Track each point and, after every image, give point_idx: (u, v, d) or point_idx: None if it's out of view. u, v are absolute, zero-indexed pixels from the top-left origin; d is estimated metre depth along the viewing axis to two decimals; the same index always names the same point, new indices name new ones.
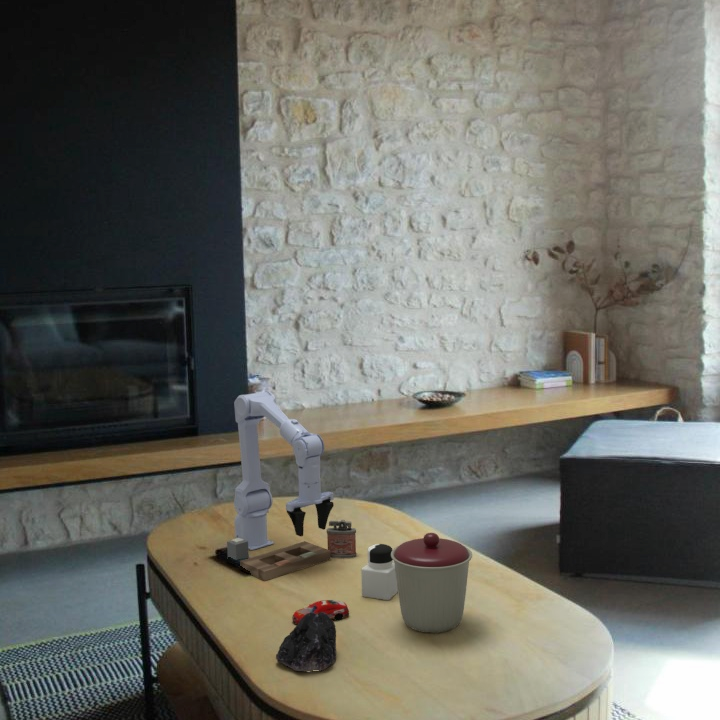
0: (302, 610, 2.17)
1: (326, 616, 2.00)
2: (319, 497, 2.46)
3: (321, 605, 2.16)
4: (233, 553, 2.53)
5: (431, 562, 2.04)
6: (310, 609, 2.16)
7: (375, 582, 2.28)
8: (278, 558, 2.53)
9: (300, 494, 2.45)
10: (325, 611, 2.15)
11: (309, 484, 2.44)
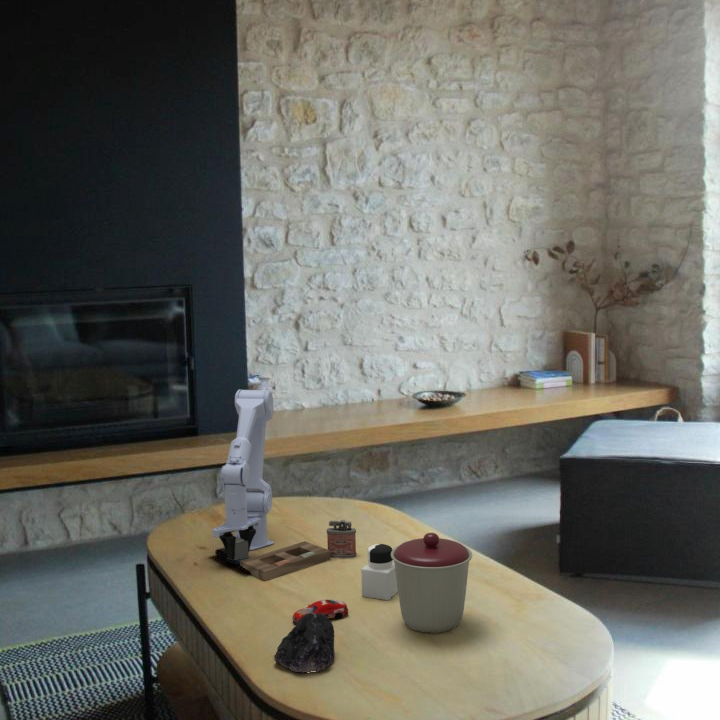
0: (302, 610, 2.16)
1: (324, 617, 1.99)
2: (245, 523, 2.53)
3: (321, 605, 2.16)
4: None
5: (431, 562, 2.04)
6: (310, 609, 2.16)
7: (375, 582, 2.28)
8: (278, 558, 2.53)
9: (227, 520, 2.52)
10: (325, 611, 2.16)
11: (235, 511, 2.50)
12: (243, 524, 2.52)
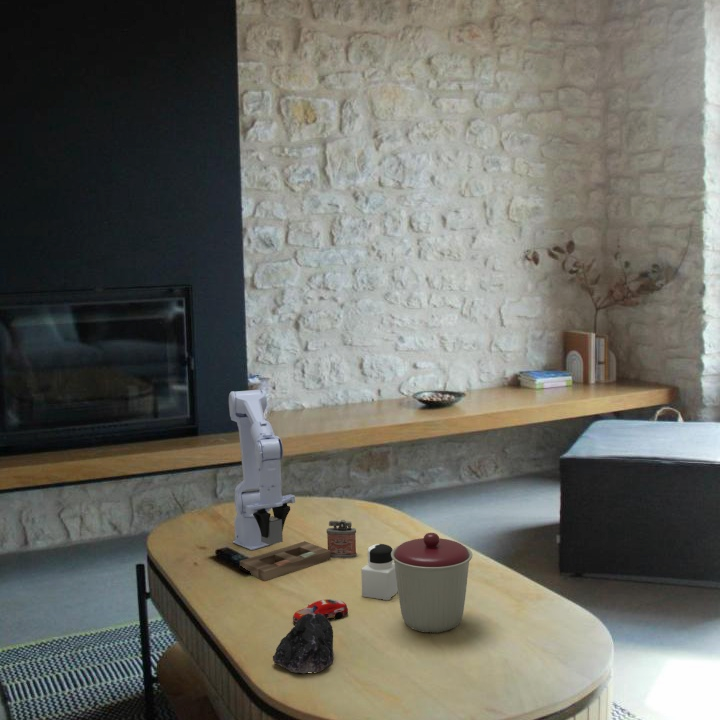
0: (302, 611, 2.16)
1: (323, 617, 1.99)
2: (280, 500, 2.46)
3: (321, 605, 2.16)
4: None
5: (431, 562, 2.04)
6: (310, 609, 2.16)
7: (375, 582, 2.28)
8: (278, 558, 2.53)
9: (261, 497, 2.46)
10: (326, 610, 2.16)
11: (269, 487, 2.44)
12: (277, 501, 2.45)
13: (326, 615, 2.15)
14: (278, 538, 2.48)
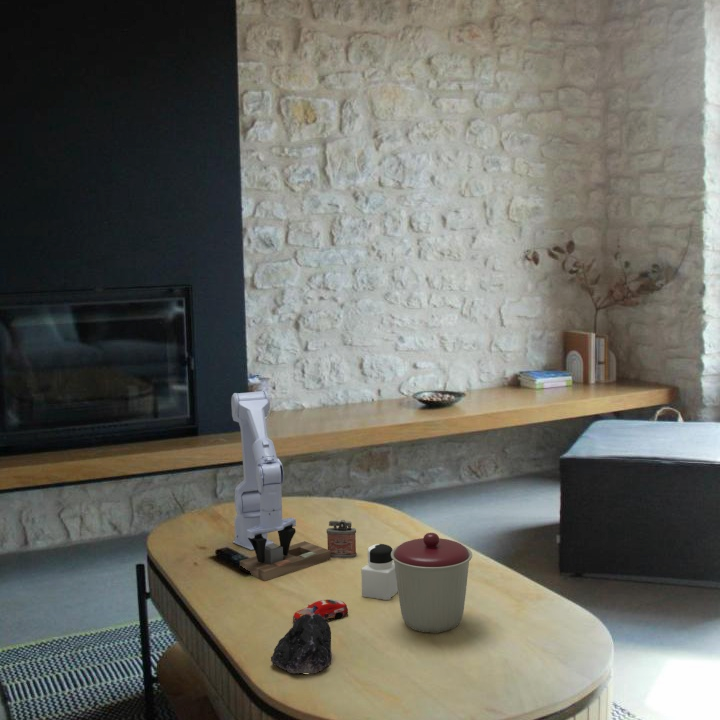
0: (302, 611, 2.16)
1: (321, 618, 1.99)
2: (280, 524, 2.47)
3: (321, 605, 2.16)
4: (268, 560, 2.48)
5: (431, 562, 2.04)
6: (310, 609, 2.16)
7: (375, 582, 2.28)
8: None
9: (261, 521, 2.47)
10: (326, 611, 2.16)
11: (270, 511, 2.45)
12: (278, 525, 2.46)
13: (326, 615, 2.15)
14: None
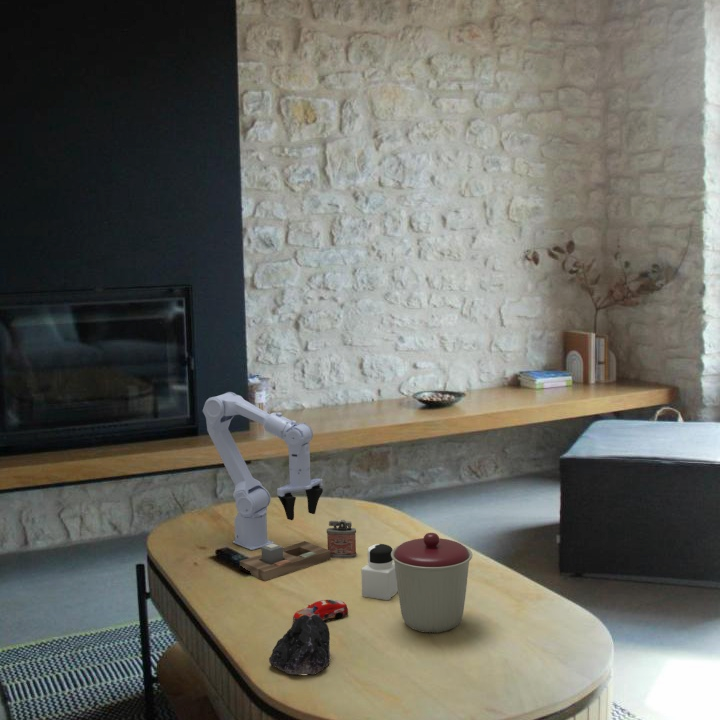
0: (302, 611, 2.16)
1: (319, 619, 1.98)
2: (309, 483, 2.60)
3: (321, 605, 2.16)
4: (268, 560, 2.48)
5: (431, 562, 2.04)
6: (310, 609, 2.16)
7: (375, 582, 2.28)
8: None
9: (291, 480, 2.59)
10: (326, 611, 2.16)
11: (299, 471, 2.57)
12: (307, 484, 2.59)
13: (326, 615, 2.15)
14: None
